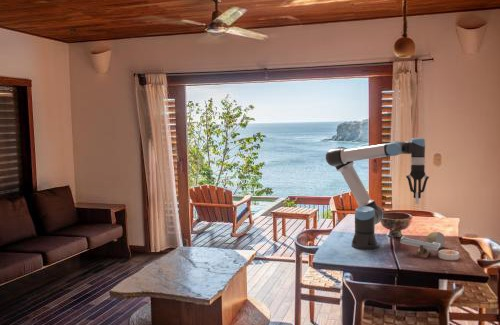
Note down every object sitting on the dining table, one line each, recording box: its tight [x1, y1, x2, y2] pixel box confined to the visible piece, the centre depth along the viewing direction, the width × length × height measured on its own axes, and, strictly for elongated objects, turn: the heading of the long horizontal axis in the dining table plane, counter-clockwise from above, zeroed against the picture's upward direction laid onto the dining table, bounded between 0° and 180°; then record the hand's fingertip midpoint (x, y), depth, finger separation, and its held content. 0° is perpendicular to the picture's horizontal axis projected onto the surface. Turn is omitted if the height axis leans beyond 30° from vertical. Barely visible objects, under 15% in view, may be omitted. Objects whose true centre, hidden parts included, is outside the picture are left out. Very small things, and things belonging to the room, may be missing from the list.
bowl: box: [437, 249, 460, 261], centre depth 255 cm, size 10×10×3 cm
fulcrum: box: [415, 240, 431, 259], centre depth 261 cm, size 6×12×6 cm, turn 150°
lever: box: [399, 235, 441, 252], centre depth 264 cm, size 20×15×3 cm
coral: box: [426, 231, 446, 249], centre depth 276 cm, size 10×10×10 cm
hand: (417, 203), depth 274 cm, fingers closed
